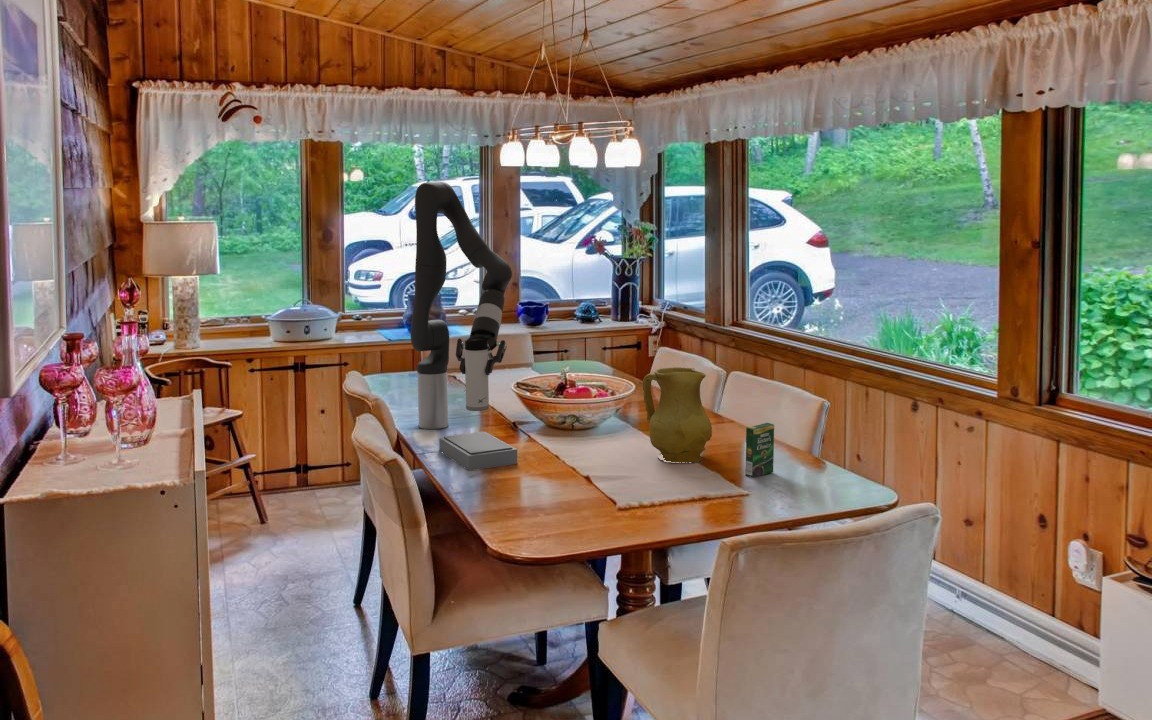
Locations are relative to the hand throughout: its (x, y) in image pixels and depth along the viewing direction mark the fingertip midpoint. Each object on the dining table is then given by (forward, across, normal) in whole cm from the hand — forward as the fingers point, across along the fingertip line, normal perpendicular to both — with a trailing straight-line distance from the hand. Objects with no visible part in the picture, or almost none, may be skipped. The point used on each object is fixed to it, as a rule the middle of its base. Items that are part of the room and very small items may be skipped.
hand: (475, 372), depth 267 cm
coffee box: (+17, +76, +17) cm, 80 cm away
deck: (+16, 0, +18) cm, 24 cm away
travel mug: (+6, 0, +9) cm, 11 cm away
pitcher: (+8, +54, +26) cm, 61 cm away
